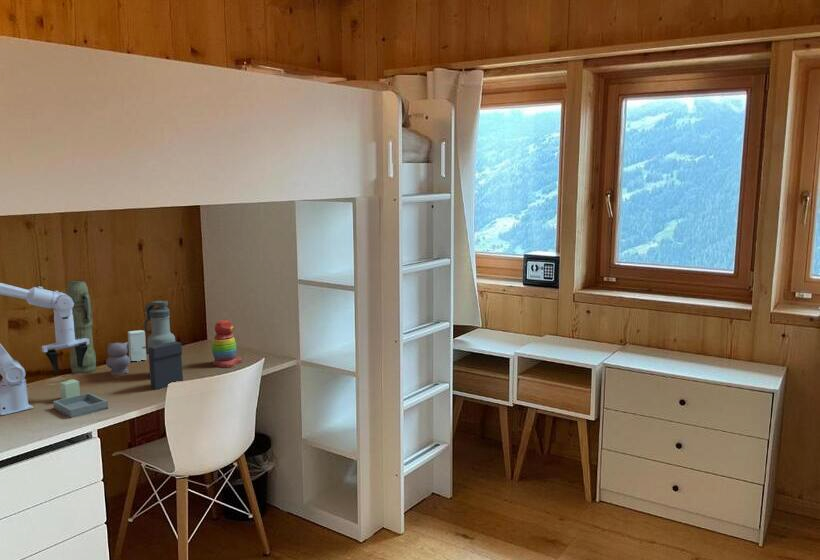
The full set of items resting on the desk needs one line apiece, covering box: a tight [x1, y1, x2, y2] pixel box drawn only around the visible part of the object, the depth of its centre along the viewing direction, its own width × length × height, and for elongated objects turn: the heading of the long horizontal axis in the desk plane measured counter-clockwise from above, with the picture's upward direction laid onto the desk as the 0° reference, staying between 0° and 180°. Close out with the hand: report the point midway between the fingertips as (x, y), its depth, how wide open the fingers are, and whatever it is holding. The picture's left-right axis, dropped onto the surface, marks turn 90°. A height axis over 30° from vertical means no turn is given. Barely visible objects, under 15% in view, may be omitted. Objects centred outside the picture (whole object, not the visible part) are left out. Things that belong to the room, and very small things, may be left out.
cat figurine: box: [105, 341, 131, 376], centre depth 262 cm, size 8×8×12 cm
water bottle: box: [143, 300, 176, 369], centre depth 258 cm, size 10×10×28 cm
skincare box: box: [127, 329, 147, 362], centre depth 281 cm, size 6×4×12 cm
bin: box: [52, 392, 109, 419], centre depth 222 cm, size 12×14×2 cm
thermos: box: [65, 279, 97, 374], centre depth 265 cm, size 9×12×35 cm
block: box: [59, 378, 81, 399], centre depth 232 cm, size 4×4×6 cm
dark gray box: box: [147, 340, 184, 390], centre depth 245 cm, size 11×4×15 cm, turn 141°
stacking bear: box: [211, 318, 243, 369], centre depth 273 cm, size 11×10×18 cm
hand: (68, 369), depth 231 cm, fingers open, 7 cm apart
